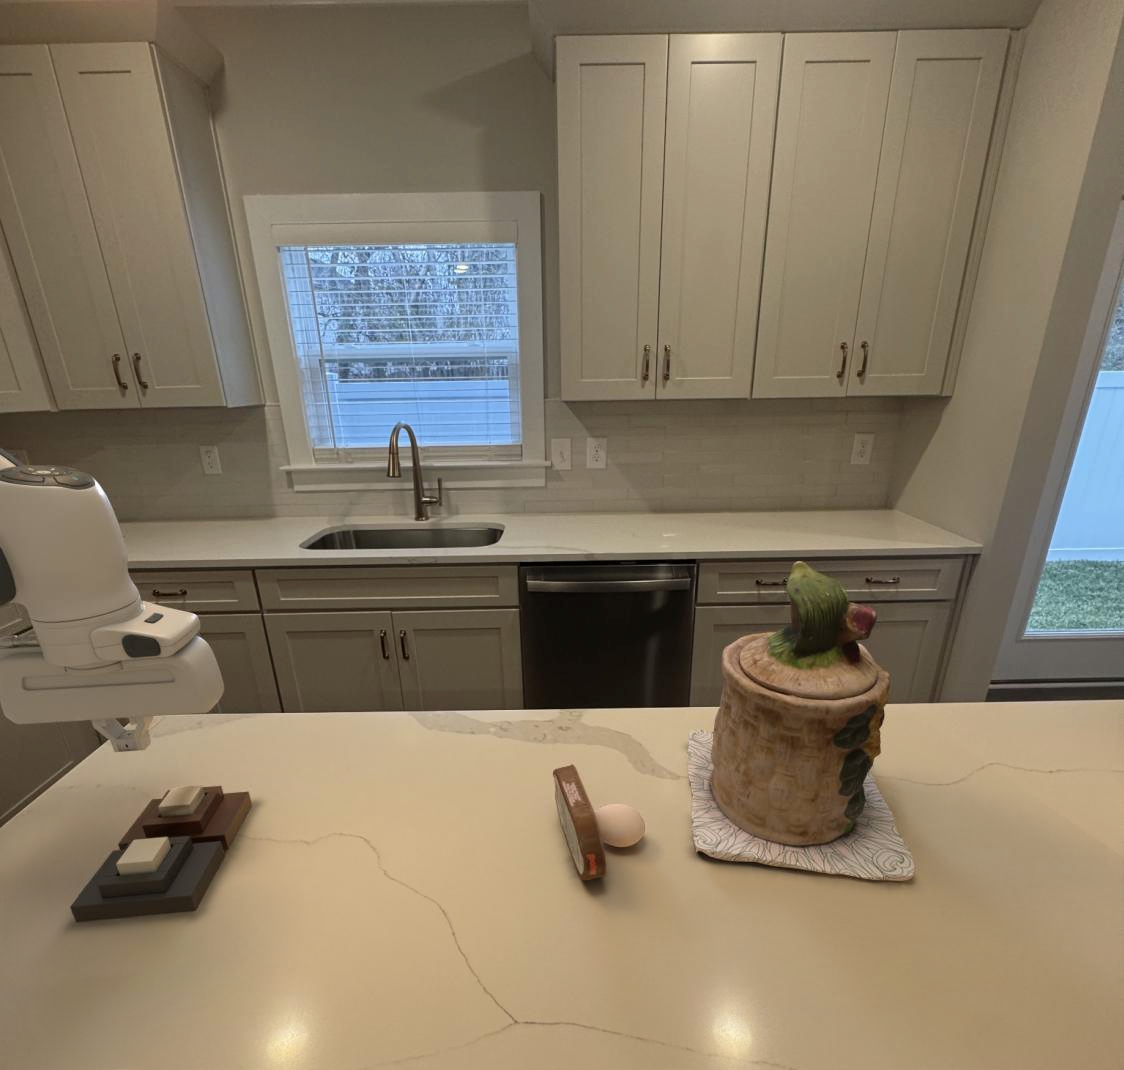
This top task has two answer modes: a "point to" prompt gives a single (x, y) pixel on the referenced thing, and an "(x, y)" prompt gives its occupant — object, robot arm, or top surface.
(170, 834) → the brown push button base
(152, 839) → the key
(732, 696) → the cookie jar
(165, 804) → the key
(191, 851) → the dark grey stepped block
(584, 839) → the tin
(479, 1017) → the top surface
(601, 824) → the egg
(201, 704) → the robot arm
